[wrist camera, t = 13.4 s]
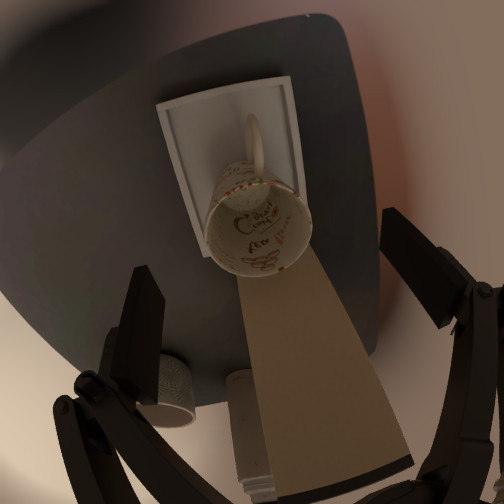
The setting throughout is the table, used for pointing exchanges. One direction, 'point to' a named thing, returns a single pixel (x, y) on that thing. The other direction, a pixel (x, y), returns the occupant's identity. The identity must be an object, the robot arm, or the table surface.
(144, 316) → the robot arm
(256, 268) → the mug
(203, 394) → the table surface
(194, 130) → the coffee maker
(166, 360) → the planter
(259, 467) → the thermos bottle
